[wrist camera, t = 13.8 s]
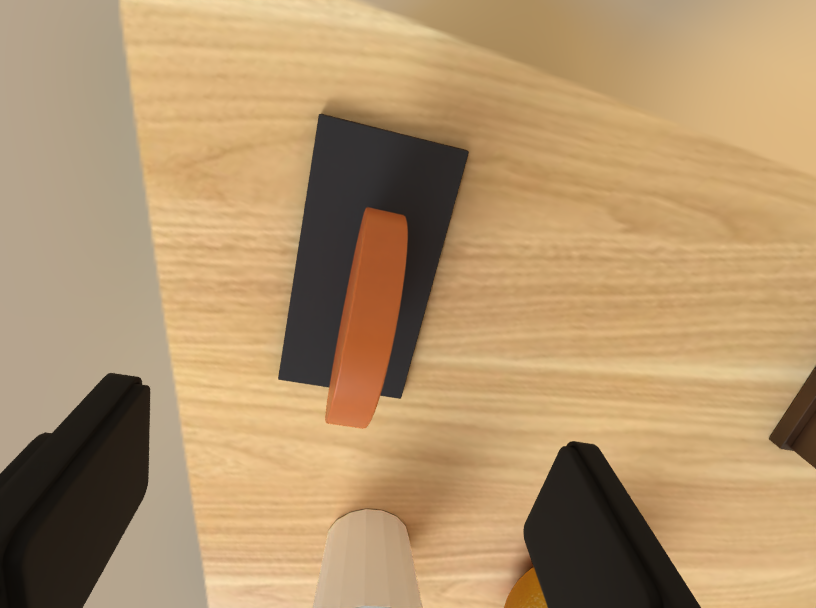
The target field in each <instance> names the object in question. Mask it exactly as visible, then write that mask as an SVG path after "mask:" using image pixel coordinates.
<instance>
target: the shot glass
mask: <svg viewBox="0 0 816 608" xmlns="http://www.w3.org/2000/svg"><path fill="white" fill-rule="evenodd" d="M313 608H423V607H422V602H421V597H420V592H419V587H418V582H417V576H416V571H415V566H414V561H413V556H412V551H411V546H410V541H409V536H408V533H407V529H406V526H405V525H404V524H403V523H402V522H401V521H400V520H399V518H398V517H397V516H394V515H392V514H390V513H387V512H385V511H383V510H371V509H364V510H359V511H355V512H350V513H348V514H347V515H345V516H343V517H341V518H340V519H338V520H336V522H335V523H334V524H333V526H332V527H331V528H330V529H329V531H328V535H327V540H326V545H325V550H324V555H323V560H322V564H321V569H320V574H319V579H318V584H317V589H316V594H315V599H314V603H313Z"/></svg>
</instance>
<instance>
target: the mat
mask: <svg viewBox="0 0 816 608" xmlns="http://www.w3.org/2000/svg"><path fill="white" fill-rule="evenodd" d="M468 153H469V152H468V151H467V150H463V149H459V148H455V147H452V146H448V145H444V144H440V143H436V142H432V141H428V140H424V139H420V138H416V137H412V136H408V135H404V134H400V133H396V132H392V131H388V130H384V129H380V128H376V127H372V126H368V125H364V124H360V123H356V122H352V121H348V120H344V119H340V118H336V117H332V116H328V115H324V114H319V118H318V124H317V131H316V137H315V144H314V150H313V157H312V163H311V170H310V176H309V183H308V189H307V196H306V202H305V209H304V215H303V222H302V228H301V235H300V241H299V247H298V254H297V260H296V267H295V273H294V280H293V286H292V293H291V299H290V306H289V312H288V319H287V325H286V332H285V338H284V345H283V351H282V358H281V364H280V371H279V377H278V379H279V380H285V381H291V382H298V383H304V384H310V385H317V386H323V387H329V386H330V380H331V374H332V368H333V362H334V357H335V351H336V345H337V340H338V334H339V329H340V324H341V318H342V313H343V308H344V303H345V297H346V292H347V287H348V282H349V277H350V272H351V267H352V263H353V258H354V253H355V249H356V244H357V239H358V235H359V231H360V226H361V222H362V218H363V215H364V212H365V209H366V208H367V207H369V208H374V209H378V210H383V211H387V212H392V213H396V214H401V215H404V216H405V217H406V221H407V229H408V242H407V256H406V267H405V275H404V283H403V290H402V297H401V303H400V309H399V315H398V320H397V326H396V331H395V336H394V341H393V346H392V351H391V355H390V360H389V364H388V368H387V372H386V376H385V380H384V384H383V387H382V391H381V394H380V396H387V397H393V398H399V399H401V397H402V393H403V389H404V386H405V382H406V378H407V375H408V371H409V367H410V364H411V360H412V357H413V353H414V349H415V346H416V342H417V338H418V335H419V331H420V327H421V324H422V320H423V317H424V313H425V309H426V306H427V302H428V298H429V295H430V291H431V288H432V284H433V280H434V277H435V273H436V269H437V266H438V262H439V258H440V255H441V251H442V248H443V244H444V240H445V237H446V233H447V229H448V226H449V222H450V218H451V215H452V211H453V208H454V204H455V200H456V197H457V193H458V189H459V186H460V182H461V179H462V175H463V171H464V168H465V164H466V160H467V157H468Z"/></svg>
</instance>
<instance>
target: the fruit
mask: <svg viewBox="0 0 816 608" xmlns="http://www.w3.org/2000/svg"><path fill="white" fill-rule="evenodd" d="M504 608H548V607H547V604H546V601H545V598H544V595H543V592H542V590H541V587H540V584H539V581H538V578H537V575H536V572H535V569H534V567H533V568H531V569H530V570H529V571H528V572H526V573H525V574H524V575H523V576H522V577H521V578H520V579H519V580H518V582H517V583H516V584H515V585H514V587H513V588H512V590H511V592H510V594H509V596H508V598H507V600H506V603H505V606H504Z"/></svg>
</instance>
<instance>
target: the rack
mask: <svg viewBox="0 0 816 608" xmlns="http://www.w3.org/2000/svg"><path fill="white" fill-rule="evenodd" d="M769 440H771V441H772V442H773V443H774V444H775V445H777V446H778V447H779V448H780V449H785V450H792V451H795V452H796V453H797V454H798V455H800V456H801V457H802V458H803V459H805V460H806V461H807V462H808V463H809V464H811V465H812V466H813V467H814V468H816V367H815V369H814V371H813V372H812V374H811V375H810V377H809V378H808V380H807V381H806V383H805V384H804V386H803V387H802V389H801V390H800V392H799V393H798V395H797V397H796V398H795V400H794V401H793V403H792V404H791V406H790V407H789V409H788V410H787V412H786V413H785V415H784V416H783V418H782V419H781V421H780V423H779V424H778V426H777V427H776V429H775V430H774V432H773V433H772V435H771V436H770V438H769Z"/></svg>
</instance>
